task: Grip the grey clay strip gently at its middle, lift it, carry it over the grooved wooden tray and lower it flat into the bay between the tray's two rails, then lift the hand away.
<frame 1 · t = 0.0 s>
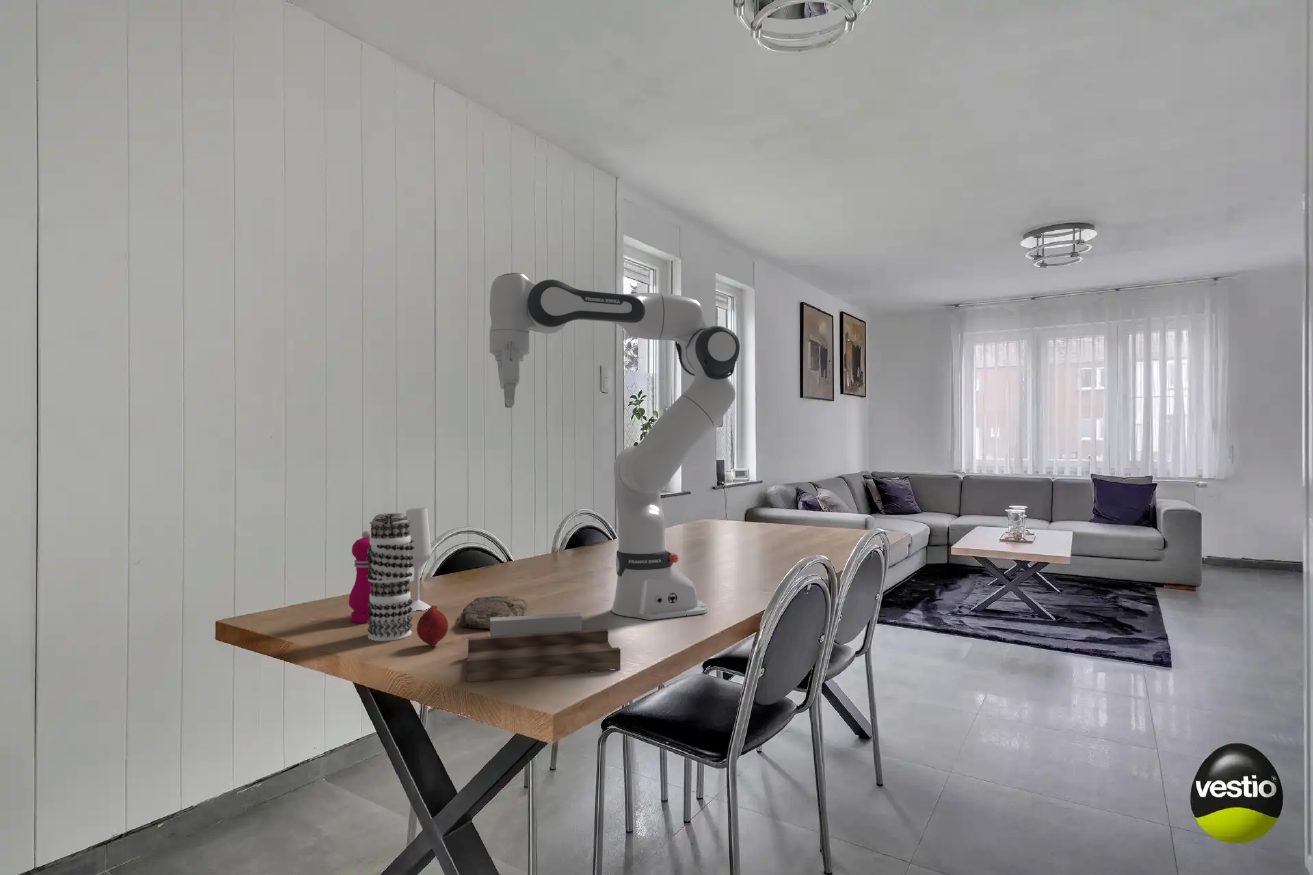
hand: (509, 406, 158), 48 cm above the table, tool pointing down, fingers open, 8 cm apart
champagne flute: (416, 608, 168), on the table
grooved wooden tray: (542, 663, 125), on the table
onion: (432, 647, 136), on the table
pepper mill: (366, 620, 157), on the table
decorative candle: (390, 636, 144), on the table
clay strip: (536, 641, 140), on the table
rough brown rock: (489, 622, 156), on the table
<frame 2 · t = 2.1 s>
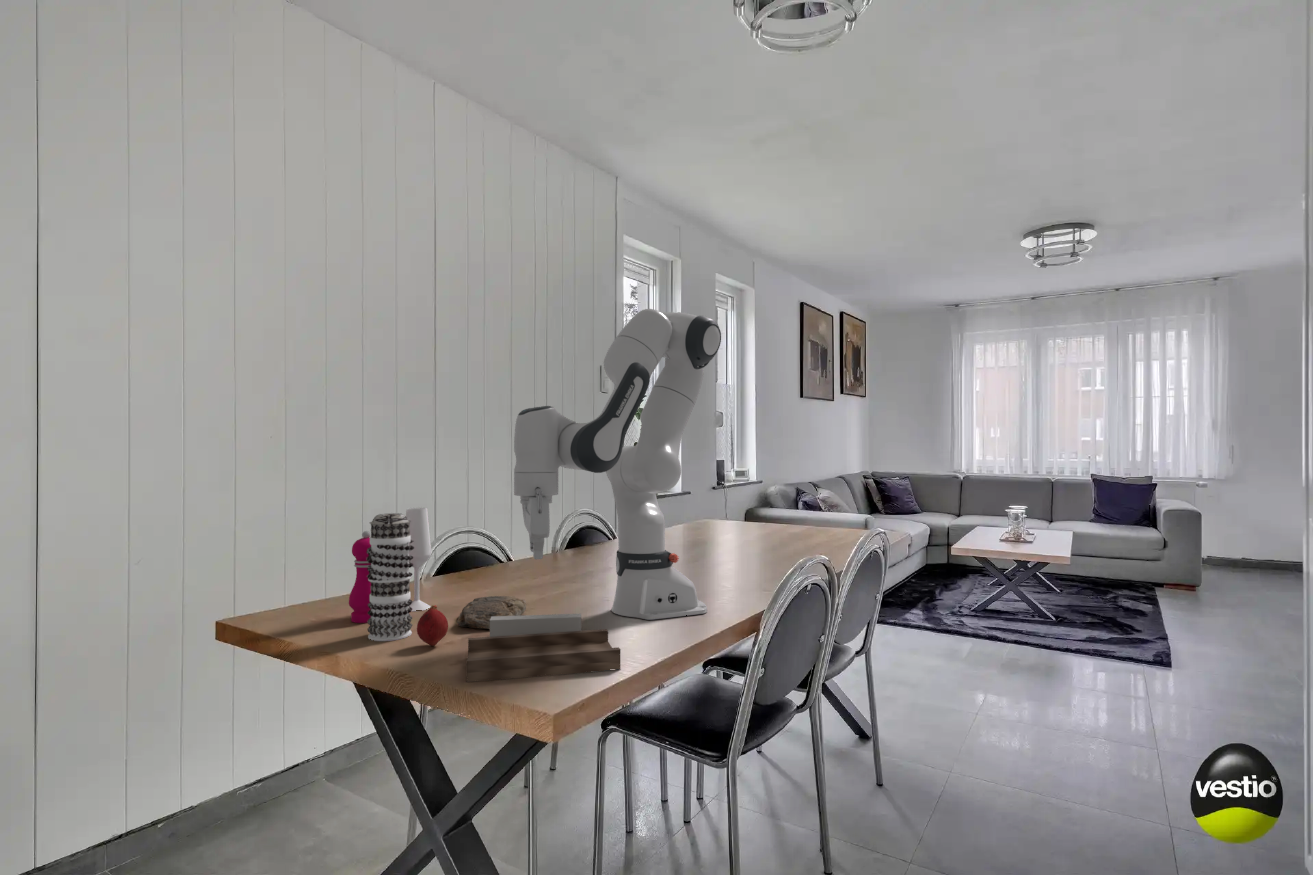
hand: (536, 555, 140), 17 cm above the table, tool pointing down, fingers open, 8 cm apart
nothing on the table moved.
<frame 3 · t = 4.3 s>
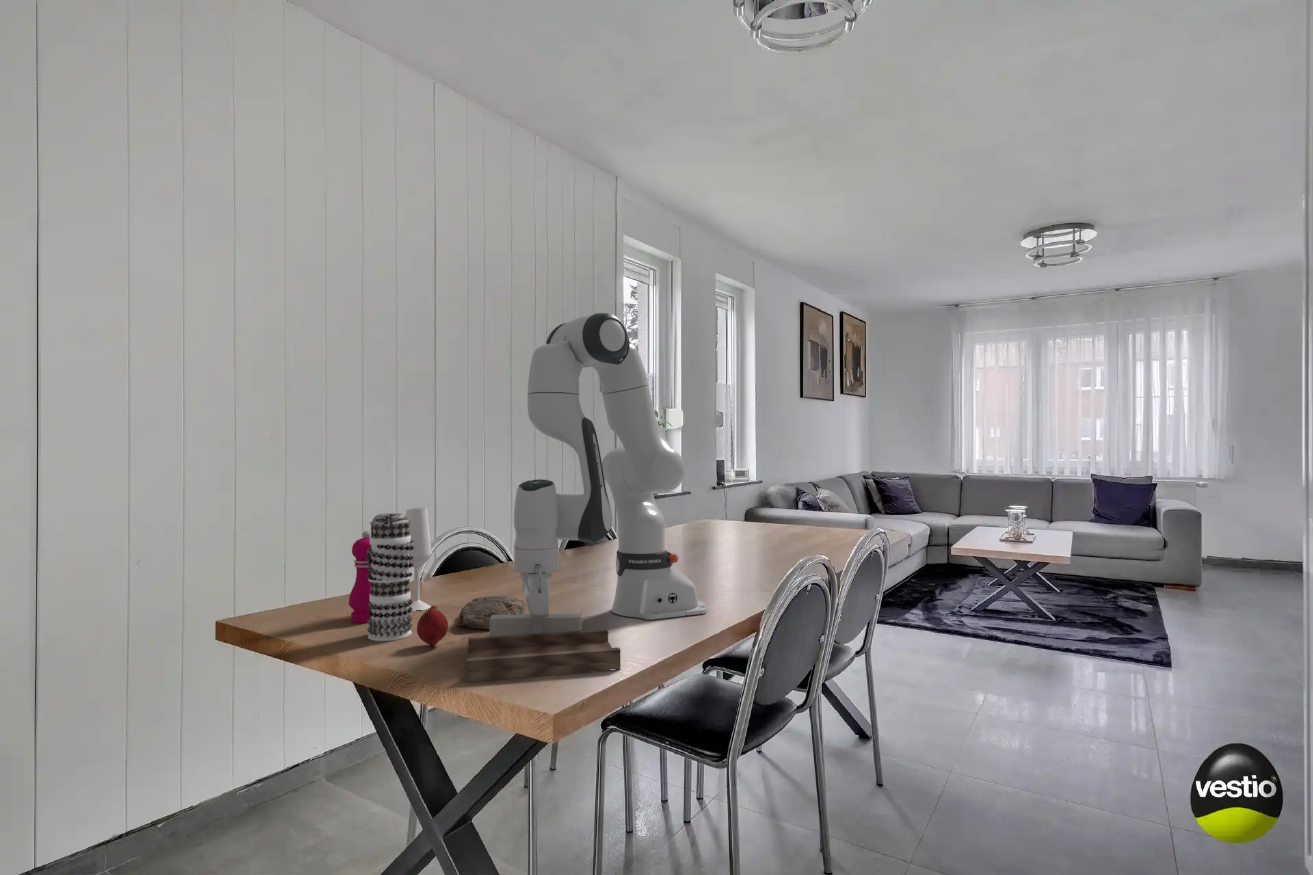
hand: (536, 629, 140), 2 cm above the table, tool pointing down, fingers closed on clay strip, 3 cm apart
clay strip: (536, 640, 140), on the table, touching gripper
everything else where it was.
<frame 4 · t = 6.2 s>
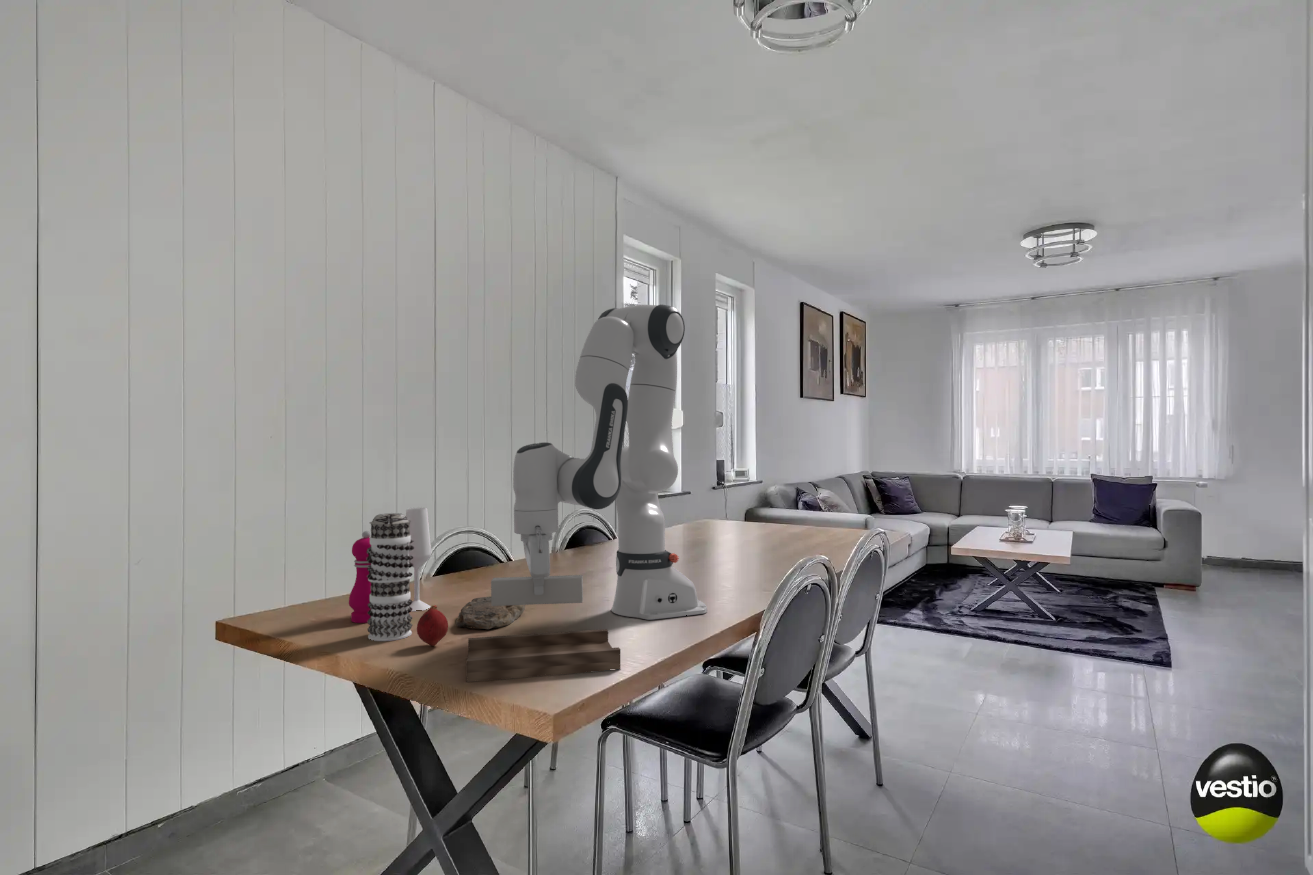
hand: (537, 591, 140), 10 cm above the table, tool pointing down, fingers closed on clay strip, 3 cm apart
clay strip: (537, 602, 140), point 7 cm above the table, touching gripper
everything else where it was.
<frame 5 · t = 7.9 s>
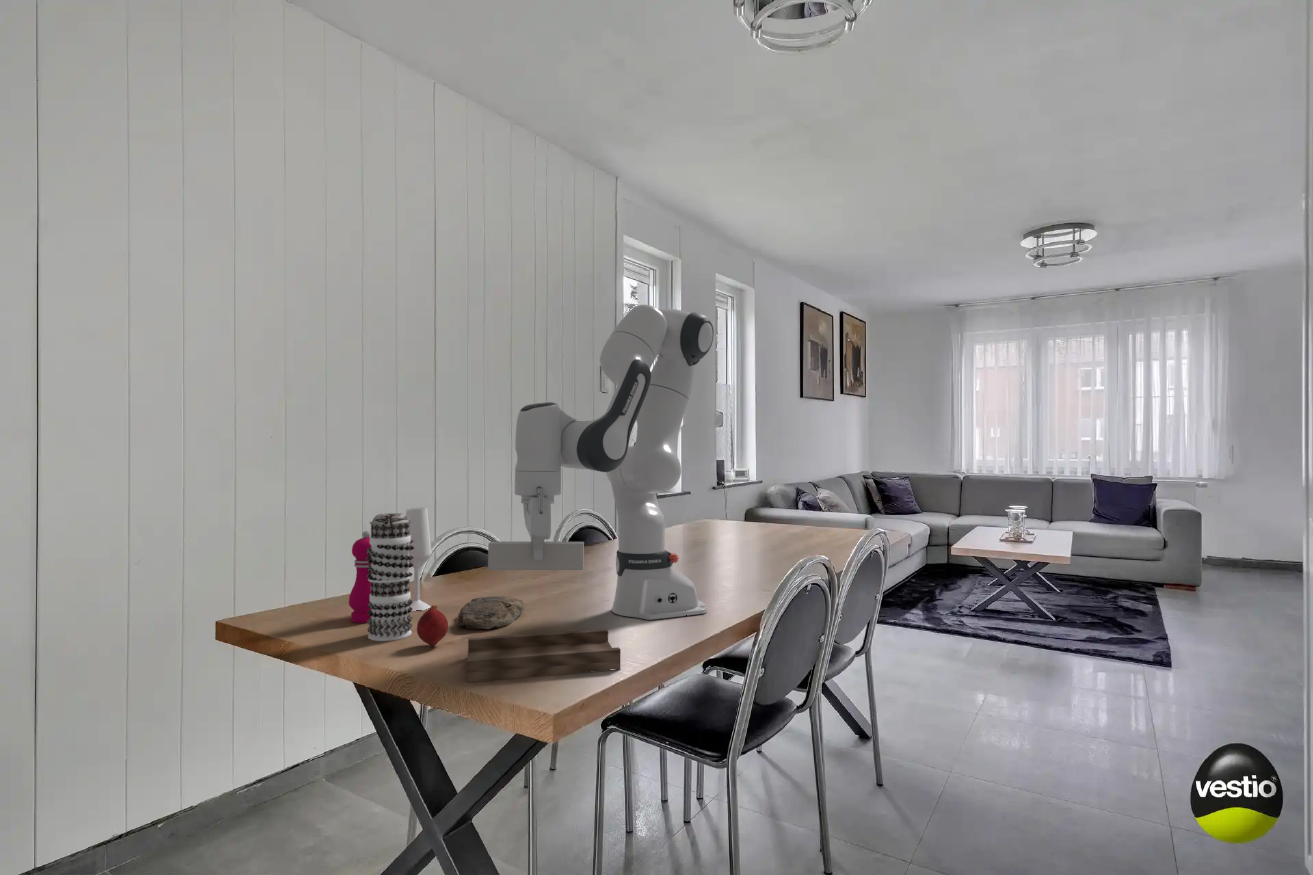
hand: (537, 557, 135), 18 cm above the table, tool pointing down, fingers closed on clay strip, 3 cm apart
clay strip: (536, 568, 135), point 15 cm above the table, touching gripper
everything else where it was.
when the fingers open (5 cm above the table, at t = 10.9 s): clay strip stays where it is, resting on grooved wooden tray.
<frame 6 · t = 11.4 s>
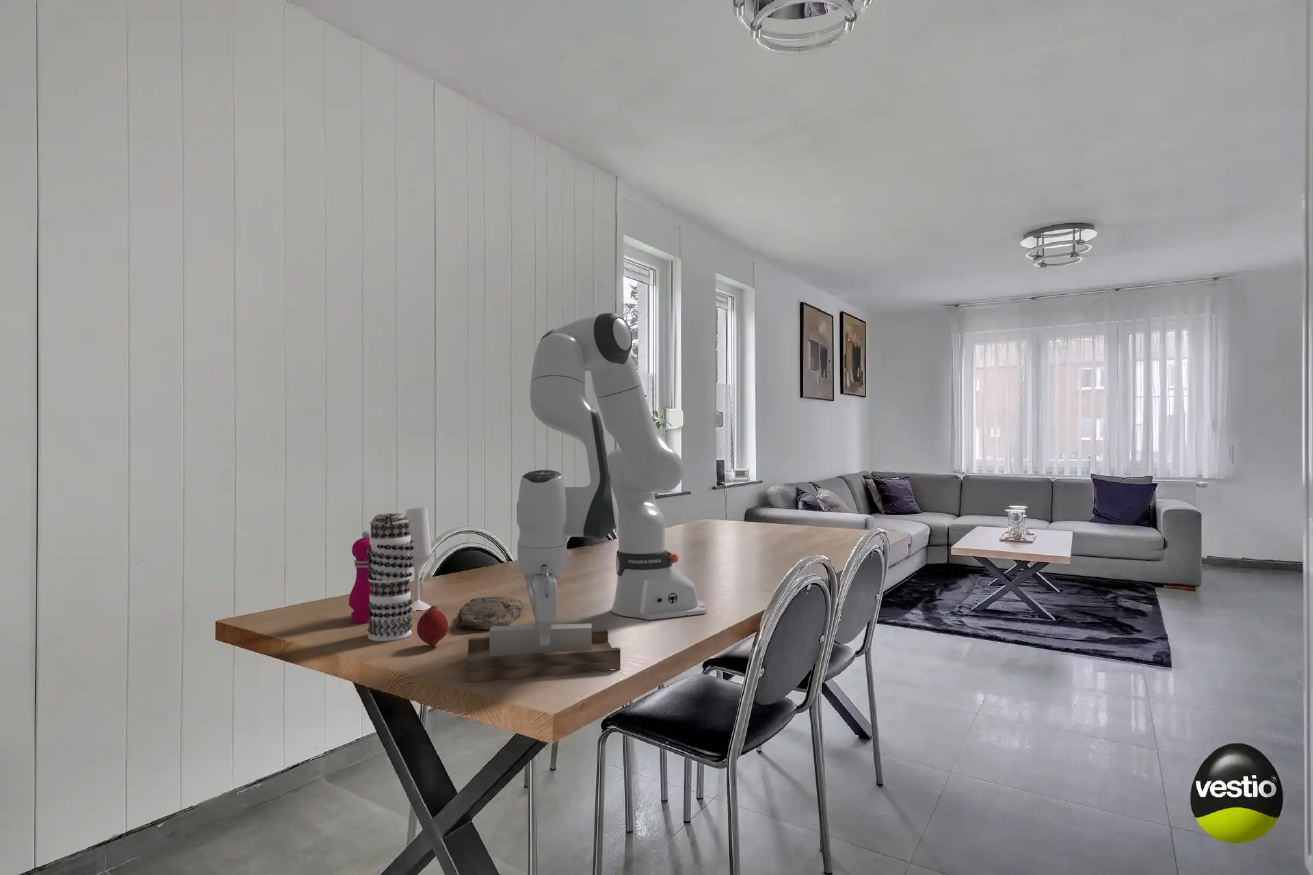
hand: (542, 637, 125), 5 cm above the table, tool pointing down, fingers open, 8 cm apart
clay strip: (541, 654, 125), point 1 cm above the table, touching grooved wooden tray
everything else where it was.
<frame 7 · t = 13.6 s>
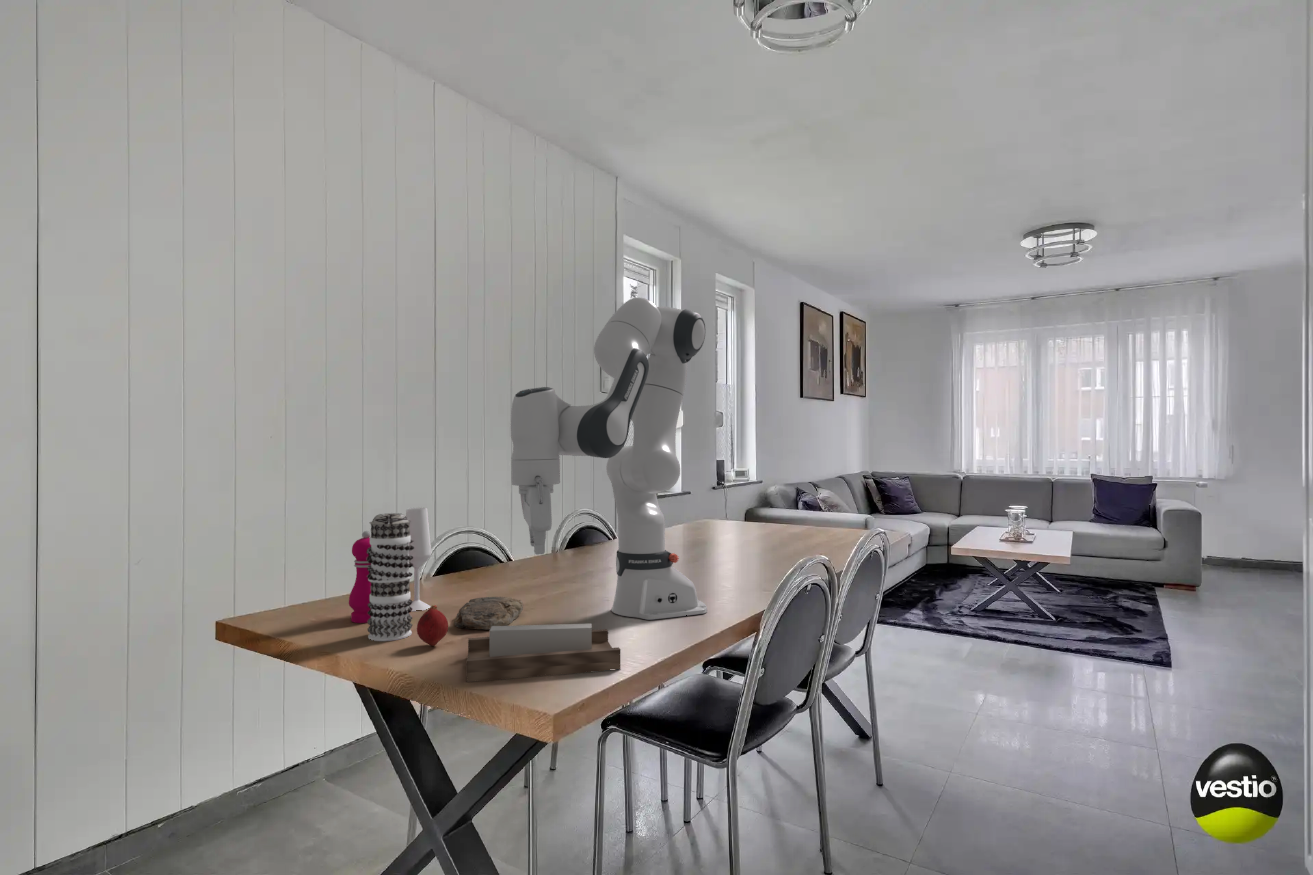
hand: (537, 549, 129), 20 cm above the table, tool pointing down, fingers open, 8 cm apart
nothing on the table moved.
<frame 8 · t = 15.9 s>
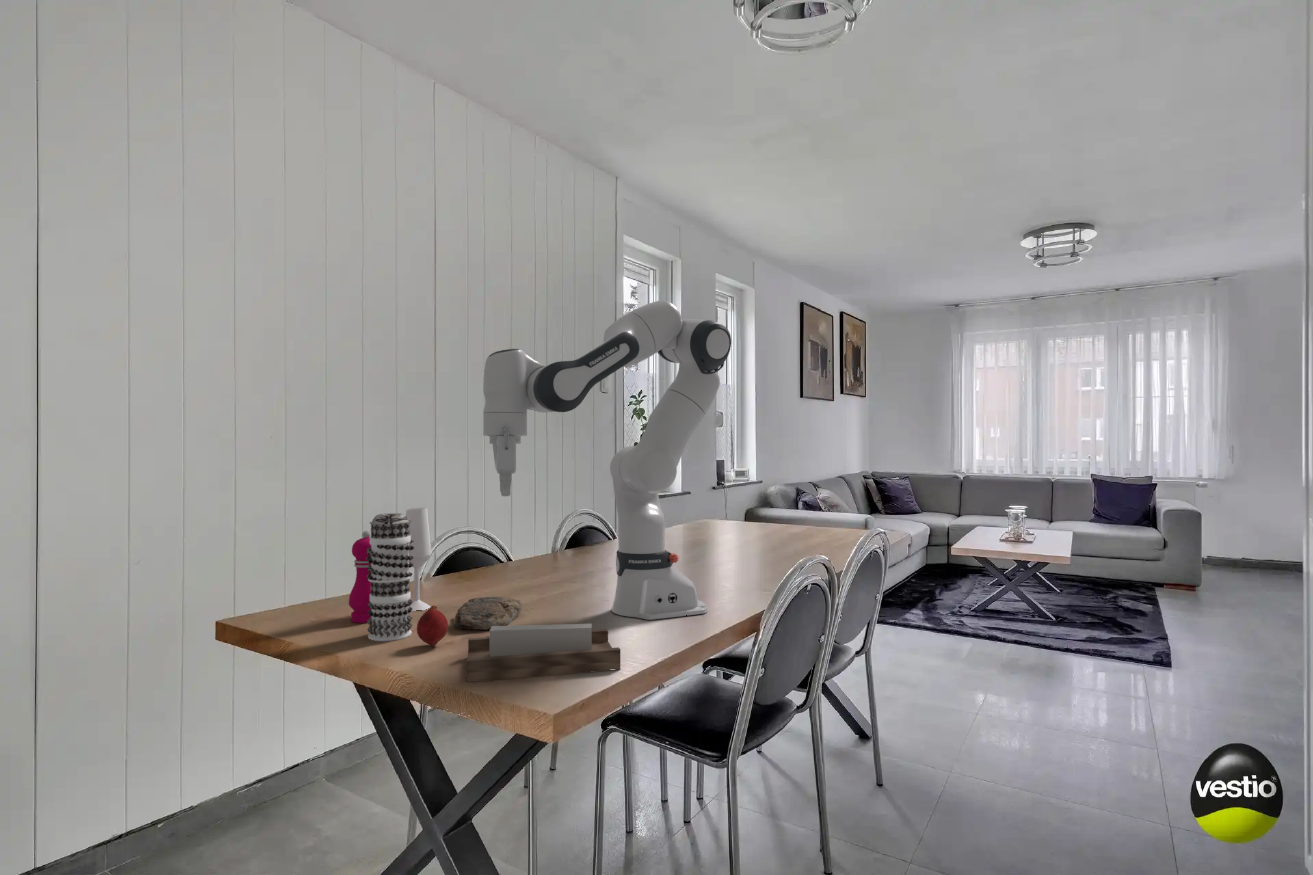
hand: (505, 494, 144), 29 cm above the table, tool pointing down, fingers open, 8 cm apart
at the end: clay strip inside the target area on the grooved wooden tray (0.1 cm from its centre), point 1.5 cm above the grooved wooden tray's base; clay strip tilted 0°; the gripper is holding nothing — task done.
